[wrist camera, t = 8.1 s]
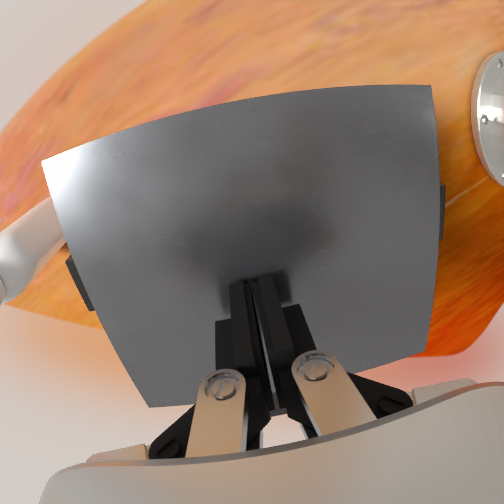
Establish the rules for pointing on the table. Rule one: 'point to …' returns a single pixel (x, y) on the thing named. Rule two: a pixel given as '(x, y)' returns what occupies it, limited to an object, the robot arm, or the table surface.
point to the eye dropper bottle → (28, 248)
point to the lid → (258, 227)
